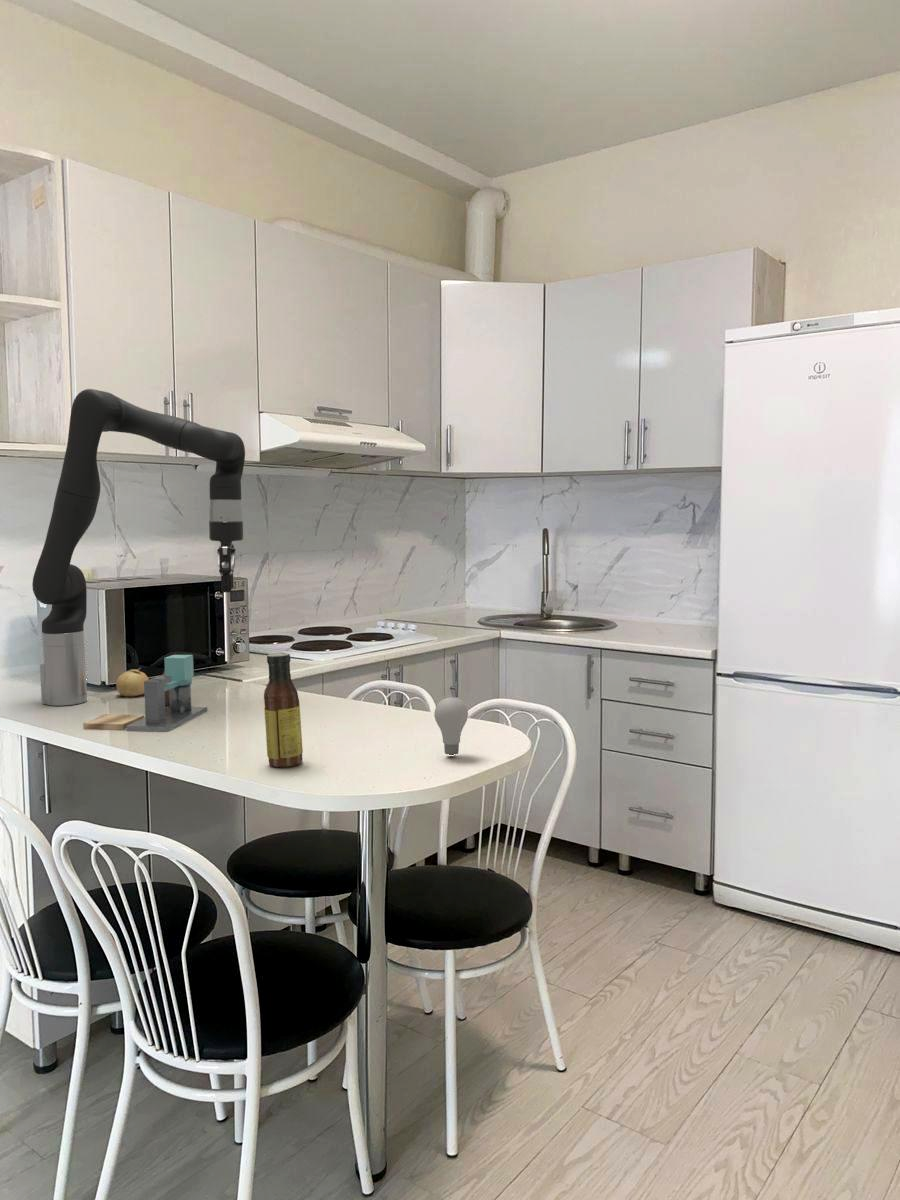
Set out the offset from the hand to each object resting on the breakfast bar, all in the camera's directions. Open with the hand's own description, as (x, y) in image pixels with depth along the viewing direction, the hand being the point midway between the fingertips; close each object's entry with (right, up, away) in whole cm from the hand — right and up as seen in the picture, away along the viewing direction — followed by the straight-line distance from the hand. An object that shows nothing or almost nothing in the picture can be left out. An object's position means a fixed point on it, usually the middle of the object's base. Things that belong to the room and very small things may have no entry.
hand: (227, 590), depth 210 cm
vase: (-15, -27, +6) cm, 31 cm away
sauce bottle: (+22, -32, -47) cm, 61 cm away
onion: (-28, -26, +18) cm, 42 cm away
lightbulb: (+52, -31, -44) cm, 74 cm away
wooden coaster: (-21, -29, -14) cm, 38 cm away
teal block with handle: (-10, -21, -9) cm, 25 cm away
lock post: (-10, -28, -11) cm, 32 cm away
